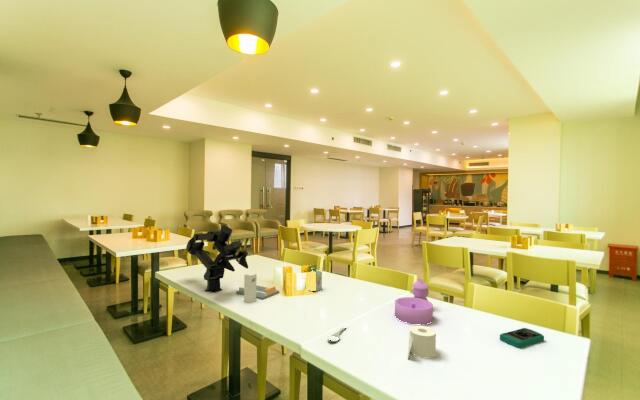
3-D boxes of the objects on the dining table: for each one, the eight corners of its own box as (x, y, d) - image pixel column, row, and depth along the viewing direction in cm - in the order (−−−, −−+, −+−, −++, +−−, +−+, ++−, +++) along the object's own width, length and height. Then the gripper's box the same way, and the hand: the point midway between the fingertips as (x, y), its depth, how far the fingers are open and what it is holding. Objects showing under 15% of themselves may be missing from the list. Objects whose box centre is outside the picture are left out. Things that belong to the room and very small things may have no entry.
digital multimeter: (545, 342, 110) (545, 334, 110) (519, 350, 104) (519, 341, 104) (524, 334, 117) (524, 326, 117) (498, 341, 110) (498, 333, 110)
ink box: (314, 292, 162) (314, 267, 162) (308, 291, 164) (308, 266, 164) (321, 289, 167) (322, 265, 167) (316, 288, 170) (316, 264, 170)
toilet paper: (407, 359, 96) (407, 337, 96) (410, 343, 106) (410, 323, 106) (435, 365, 93) (435, 342, 93) (435, 348, 103) (436, 327, 103)
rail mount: (236, 293, 158) (236, 285, 158) (253, 287, 170) (253, 280, 170) (262, 299, 149) (262, 291, 149) (279, 292, 161) (279, 285, 161)
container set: (429, 328, 119) (429, 294, 119) (390, 320, 126) (390, 288, 126) (438, 308, 141) (439, 280, 141) (405, 302, 148) (405, 275, 148)
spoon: (324, 343, 106) (324, 339, 106) (345, 322, 125) (345, 318, 125) (335, 346, 104) (335, 341, 104) (355, 324, 123) (355, 320, 123)
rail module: (244, 301, 146) (244, 274, 146) (249, 299, 150) (250, 272, 150) (250, 303, 144) (250, 275, 144) (256, 300, 148) (256, 273, 147)
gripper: (216, 237, 147) (234, 259, 140) (243, 235, 163) (261, 254, 156) (206, 255, 150) (223, 277, 143) (234, 251, 166) (251, 271, 159)
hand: (241, 269), depth 150 cm, fingers open, 9 cm apart
